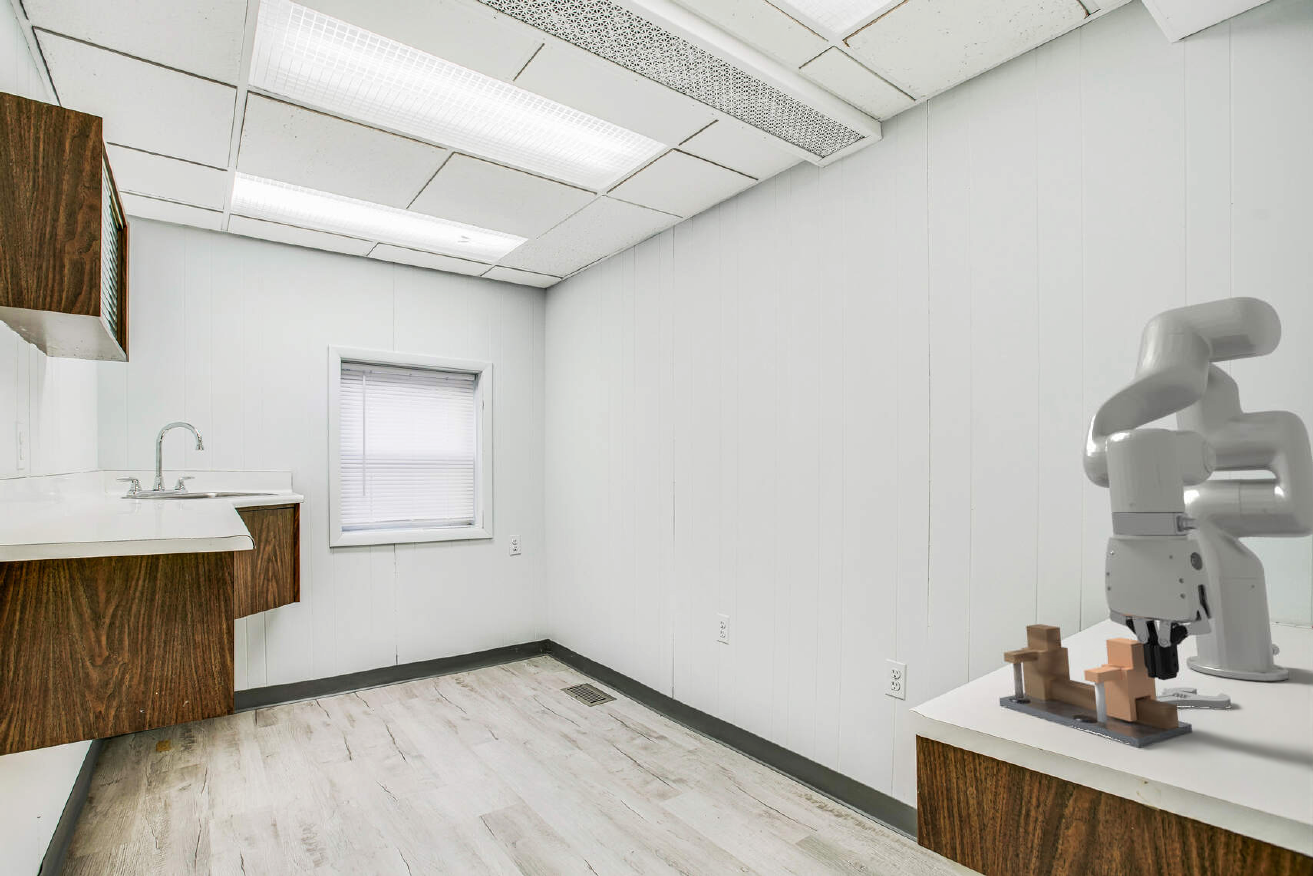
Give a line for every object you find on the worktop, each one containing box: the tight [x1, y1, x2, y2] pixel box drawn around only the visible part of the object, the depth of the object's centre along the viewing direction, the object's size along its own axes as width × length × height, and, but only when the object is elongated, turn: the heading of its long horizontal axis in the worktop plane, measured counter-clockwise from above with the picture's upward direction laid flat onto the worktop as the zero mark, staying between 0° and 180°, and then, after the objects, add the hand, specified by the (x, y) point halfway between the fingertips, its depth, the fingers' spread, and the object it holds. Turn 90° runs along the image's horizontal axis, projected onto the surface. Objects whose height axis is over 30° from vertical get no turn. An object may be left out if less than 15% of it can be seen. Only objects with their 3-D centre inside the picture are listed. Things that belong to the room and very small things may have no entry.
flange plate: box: [998, 692, 1193, 749], centre depth 86 cm, size 11×18×1 cm, turn 25°
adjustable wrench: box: [1156, 687, 1232, 709], centre depth 91 cm, size 25×6×2 cm, turn 99°
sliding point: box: [1083, 637, 1157, 722], centre depth 83 cm, size 10×3×9 cm, turn 115°
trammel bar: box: [1003, 623, 1179, 730], centre depth 86 cm, size 10×18×10 cm, turn 25°
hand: (1162, 677), depth 80 cm, fingers closed
